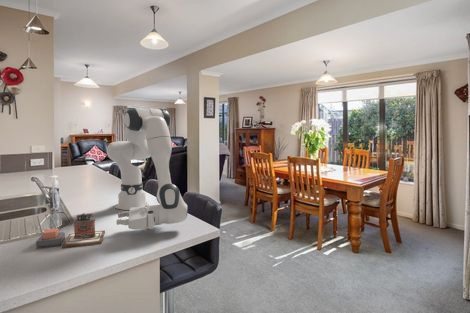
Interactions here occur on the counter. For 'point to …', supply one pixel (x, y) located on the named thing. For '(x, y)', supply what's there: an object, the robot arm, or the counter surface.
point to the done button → (51, 233)
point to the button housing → (50, 241)
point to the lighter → (84, 226)
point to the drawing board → (83, 240)
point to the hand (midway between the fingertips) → (117, 218)
